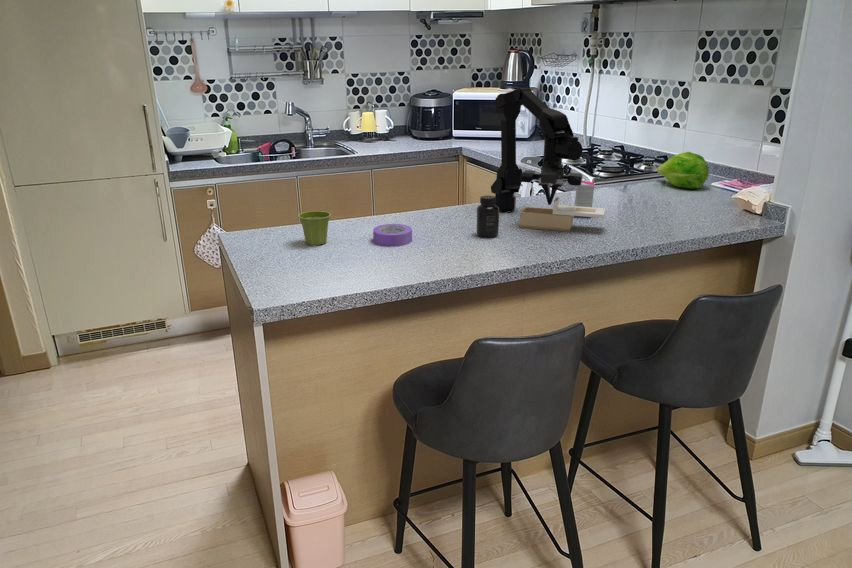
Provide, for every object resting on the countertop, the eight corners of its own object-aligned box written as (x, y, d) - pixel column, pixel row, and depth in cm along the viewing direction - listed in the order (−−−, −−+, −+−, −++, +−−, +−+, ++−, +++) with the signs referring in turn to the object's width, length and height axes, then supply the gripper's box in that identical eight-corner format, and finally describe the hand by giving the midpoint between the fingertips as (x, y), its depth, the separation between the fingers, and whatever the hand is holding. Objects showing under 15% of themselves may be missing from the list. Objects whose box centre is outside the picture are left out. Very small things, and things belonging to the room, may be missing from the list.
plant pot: (303, 238, 204) (301, 210, 200) (334, 238, 203) (333, 210, 200) (297, 247, 195) (295, 218, 192) (329, 247, 195) (327, 218, 191)
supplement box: (591, 218, 224) (594, 184, 220) (573, 217, 225) (576, 184, 221) (591, 214, 230) (593, 181, 226) (573, 213, 231) (576, 180, 227)
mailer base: (519, 227, 214) (519, 212, 212) (523, 221, 221) (524, 206, 219) (569, 231, 209) (571, 216, 208) (572, 225, 216) (573, 210, 215)
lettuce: (644, 189, 275) (669, 190, 283) (690, 187, 256) (716, 188, 263) (645, 153, 274) (670, 155, 281) (692, 148, 254) (718, 150, 262)
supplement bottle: (500, 233, 208) (502, 195, 204) (495, 239, 202) (496, 200, 198) (479, 231, 210) (480, 193, 206) (473, 237, 204) (474, 198, 200)
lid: (552, 214, 209) (553, 201, 207) (555, 207, 216) (556, 195, 215) (603, 218, 205) (604, 205, 203) (605, 211, 212) (606, 199, 211)
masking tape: (399, 249, 194) (398, 236, 192) (365, 243, 199) (365, 231, 198) (419, 239, 203) (419, 226, 202) (386, 233, 209) (386, 221, 207)
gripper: (518, 158, 202) (516, 208, 208) (581, 161, 197) (576, 212, 203) (524, 152, 212) (522, 200, 218) (584, 155, 207) (580, 204, 213)
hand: (549, 204), depth 212 cm, fingers closed
